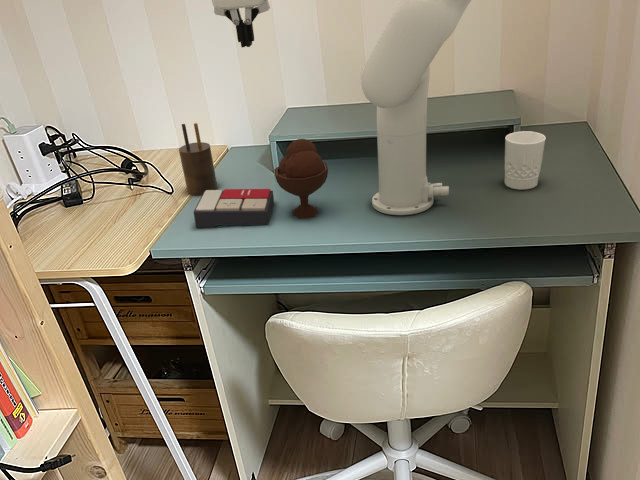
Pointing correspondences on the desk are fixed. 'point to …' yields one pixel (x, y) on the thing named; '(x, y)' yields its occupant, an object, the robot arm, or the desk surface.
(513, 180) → the white cup
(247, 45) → the robot arm
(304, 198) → the ice cream bowl
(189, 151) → the pencil cup
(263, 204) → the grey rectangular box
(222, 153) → the desk surface
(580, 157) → the desk surface
